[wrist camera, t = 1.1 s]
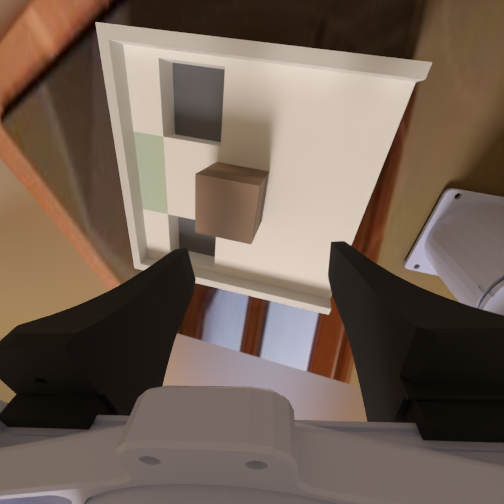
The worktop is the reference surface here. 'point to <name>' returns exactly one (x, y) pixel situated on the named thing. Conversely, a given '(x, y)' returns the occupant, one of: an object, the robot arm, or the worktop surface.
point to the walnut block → (230, 201)
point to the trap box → (250, 149)
